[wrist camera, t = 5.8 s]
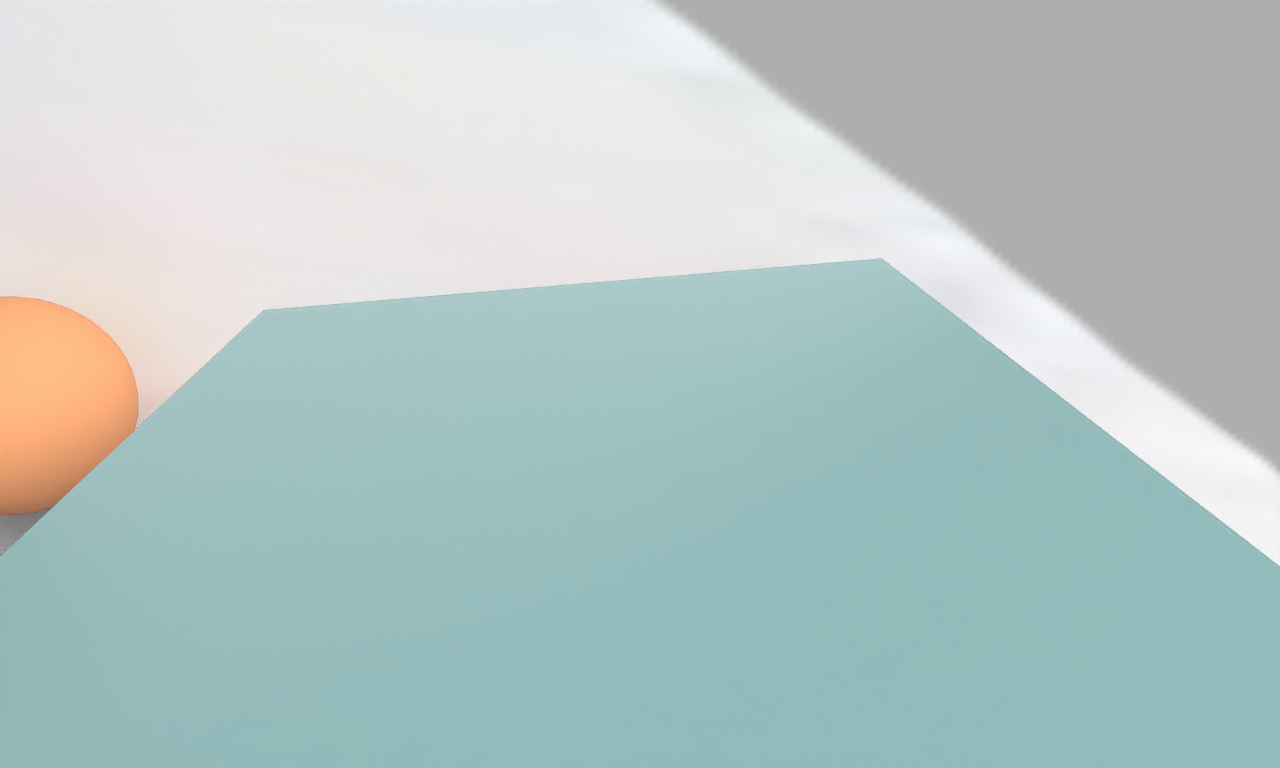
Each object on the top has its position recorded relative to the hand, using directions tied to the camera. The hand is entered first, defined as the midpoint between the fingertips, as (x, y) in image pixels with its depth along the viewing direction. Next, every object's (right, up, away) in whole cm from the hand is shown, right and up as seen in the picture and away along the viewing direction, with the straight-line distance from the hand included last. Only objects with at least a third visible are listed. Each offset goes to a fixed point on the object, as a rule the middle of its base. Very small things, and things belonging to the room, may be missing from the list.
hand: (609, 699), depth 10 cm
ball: (-14, +3, +11) cm, 18 cm away
